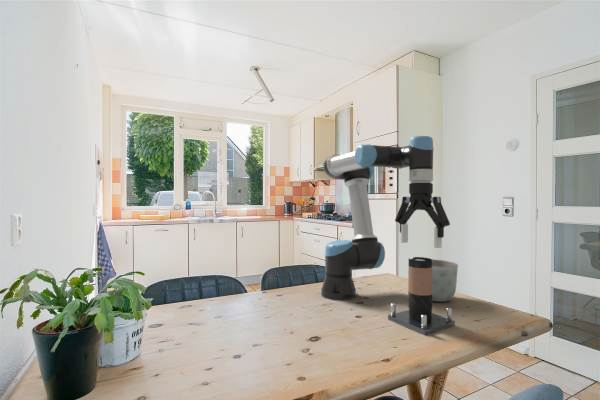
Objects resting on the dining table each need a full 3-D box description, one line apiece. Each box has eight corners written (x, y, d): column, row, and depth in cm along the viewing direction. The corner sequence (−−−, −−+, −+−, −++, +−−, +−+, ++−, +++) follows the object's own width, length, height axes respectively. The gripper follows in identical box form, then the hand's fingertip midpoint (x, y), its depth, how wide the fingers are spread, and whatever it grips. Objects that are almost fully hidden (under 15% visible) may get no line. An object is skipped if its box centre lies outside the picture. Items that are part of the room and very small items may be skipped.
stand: (388, 319, 111) (388, 303, 111) (417, 311, 119) (417, 297, 119) (424, 335, 98) (424, 317, 98) (454, 325, 106) (454, 308, 106)
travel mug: (434, 322, 104) (434, 261, 104) (409, 321, 105) (409, 260, 105) (429, 314, 111) (429, 257, 111) (407, 313, 113) (406, 256, 113)
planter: (460, 297, 137) (460, 261, 137) (455, 308, 123) (455, 268, 123) (418, 291, 146) (419, 257, 146) (409, 300, 132) (409, 263, 132)
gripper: (385, 183, 117) (385, 241, 117) (447, 180, 96) (446, 251, 96) (399, 184, 121) (399, 239, 121) (462, 181, 100) (461, 249, 100)
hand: (420, 245), depth 109 cm, fingers open, 13 cm apart
